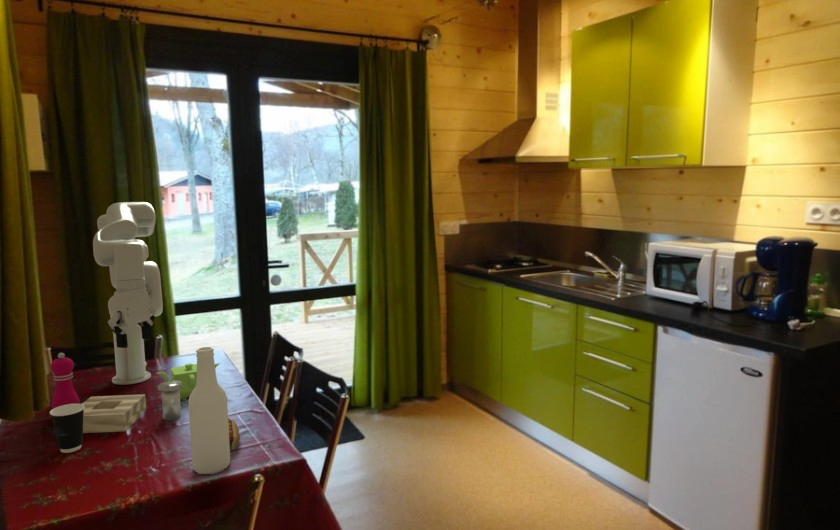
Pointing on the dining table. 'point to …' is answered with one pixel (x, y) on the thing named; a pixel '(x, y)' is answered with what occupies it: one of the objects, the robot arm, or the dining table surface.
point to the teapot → (184, 378)
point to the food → (233, 434)
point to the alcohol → (208, 418)
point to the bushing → (171, 399)
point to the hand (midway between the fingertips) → (135, 343)
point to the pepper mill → (63, 382)
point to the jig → (112, 412)
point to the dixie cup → (68, 426)
